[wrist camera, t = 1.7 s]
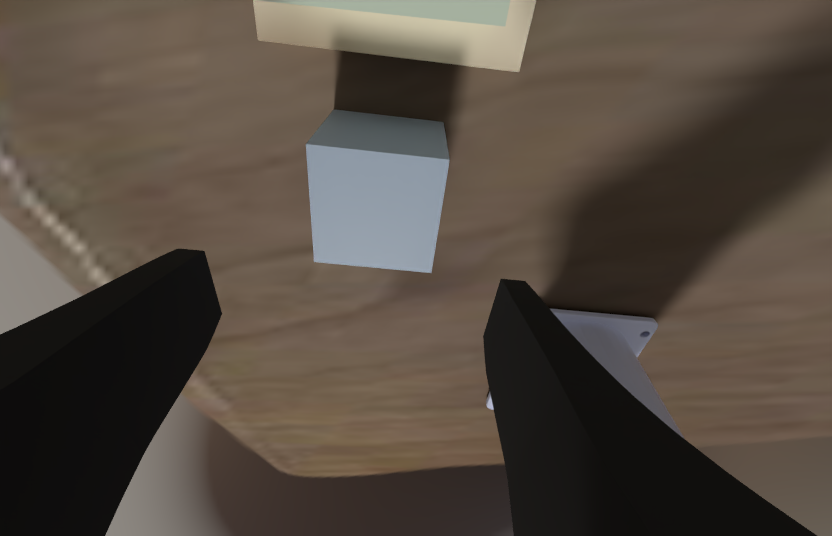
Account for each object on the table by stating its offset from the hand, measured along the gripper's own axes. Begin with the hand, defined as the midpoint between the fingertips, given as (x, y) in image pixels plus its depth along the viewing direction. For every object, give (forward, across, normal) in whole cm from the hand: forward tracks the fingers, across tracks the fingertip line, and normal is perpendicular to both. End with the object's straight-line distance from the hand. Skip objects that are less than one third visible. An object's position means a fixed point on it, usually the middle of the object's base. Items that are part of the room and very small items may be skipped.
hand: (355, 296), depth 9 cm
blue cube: (+9, 0, 0) cm, 9 cm away
